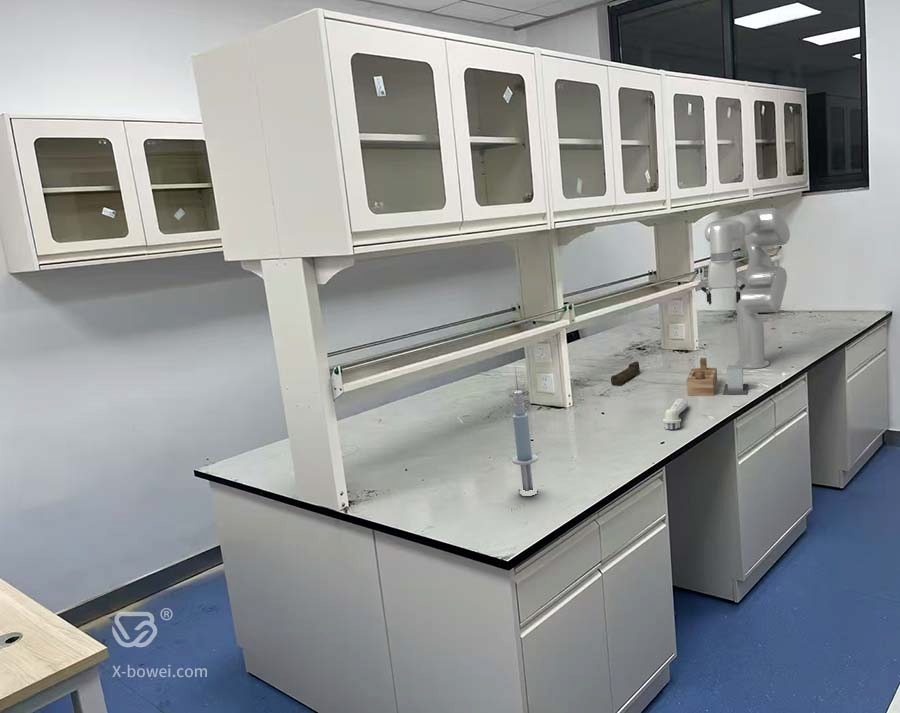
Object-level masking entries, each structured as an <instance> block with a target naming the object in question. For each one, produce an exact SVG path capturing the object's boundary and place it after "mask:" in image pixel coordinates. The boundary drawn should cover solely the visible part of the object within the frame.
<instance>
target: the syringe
mask: <svg viewBox="0 0 900 713" xmlns="http://www.w3.org/2000/svg"><path fill="white" fill-rule="evenodd" d="M514 371H515V373H517V368H516V367H514ZM515 382H516V390H515V391H514V392H513V395H514V397H513V399H514V400H513V401H514V404H513V406H514V414H513V415H512V418H513V419H512V420H513V427H514V428H513V429H514V439H515V446H516V455H515V456H513V457H512V459H511V461H512V463H513V464H514V465H517V466H520V473H521V484H522V487H523V490H525V491H529V490H533V486H534V485H533V484H534V483H533V475H532V474H533V473H532V466H531V464H534V463H536V462H538V460H539V458H538V456H537V455H536V454H532V445H531V435H530V427H529V426H530V424H529V415H528V413H526V410H525V403H524V396H523V392H522V391H521V390H519V384H518V377H517V374H515Z"/></svg>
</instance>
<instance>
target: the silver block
mask: <svg viewBox="0 0 900 713" xmlns="http://www.w3.org/2000/svg"><path fill="white" fill-rule="evenodd" d="M726 377H727V378H726V379H727V380H726V381H727V384H728V391H743V386H744V385H743V384H744V368H743V365H736V364H728V365H727V369H726Z"/></svg>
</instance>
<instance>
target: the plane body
mask: <svg viewBox="0 0 900 713" xmlns="http://www.w3.org/2000/svg"><path fill="white" fill-rule="evenodd" d="M699 366H700V367H692V368H691V369H690V371H689V374H688V375H687V376H688V377H687V378H686V392H687V396H688V397H694V396H695V397H702V396H703V397H710V396H711V397H714V396H715V392H716V389H717V386H718V369H717V368H718V367H708V363H707V357H700V359H699Z"/></svg>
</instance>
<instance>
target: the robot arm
mask: <svg viewBox="0 0 900 713" xmlns="http://www.w3.org/2000/svg"><path fill="white" fill-rule="evenodd" d="M704 237H705V239H706V241H707V242H709V246H710V261H709V262H708V269H707V277H706V278H704V279H702V280H700V281H699V282H698V286H699V288H700V290H701V291H703V292H704V293H705V294H706V302H707V303H708V305H710V306H711V305H712V293H711V291H712V290H713V289H714V290H716V289H717V290H718V289H729V288H730V289H731V288H733V289H734V290H735V291H736V292H735V294H734V298H733V300H734V301H733V302H734V306H735V307H734V308H735V311H736V318H737V334H738V337H737V338H738V353H739V354H738V357H739V360H738V361H736V362H735V365H743V369H748V370H751V369H752V370H753V369H761V368H767V367H768V366H770V362H769V361H768V360H765V359H766V358H765V356H766V355H765V334H764V333H765V332H764V331H765V330H764V329H765V328H764V321H763V319H762V317H761V316H760V314H758V313H775V312H777V311H779V310H780V309H781V306H782V304H783V299H784V295H785V291H786V287H787V283H788V273H787V271H786V269H785V267H782V266H780V265H771V264H772V256H770V254H769V253H768V252H767V251H766V250H765V249H764V247H775V246H777V247H778V246H784V245H786V244H788V242H789V241H790V238H791V232H790V228H789V225H788V224H787V221H786V220H785V218H784V216H783V214H782V213H781V211H780V210H778V208H774V207H769V208H759V209H758V208H757V209H751V210H747V211H744V212H743V213H740V214H737V215H732V216H729V217H725V218H720V219H717V220H713V221H711V222H709V223H708V224H707V225H706V227H705V229H704ZM742 239H744V243H745V246H746V250H747V254H748V263H747V267H746V269H745V275H744V277H743V276H741V275H738V269H737V268H738V267H737V262H736V260H735V259H734V258H738V256H737V255H738V254H737V253H734V252H733V242H738V241H741V240H742ZM738 281H741V282H742V283H741V285H740V286H739V285H738V284H739V283H738ZM706 283H707V285H708V288H706V287H705V286H704V285H705V284H706Z"/></svg>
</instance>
